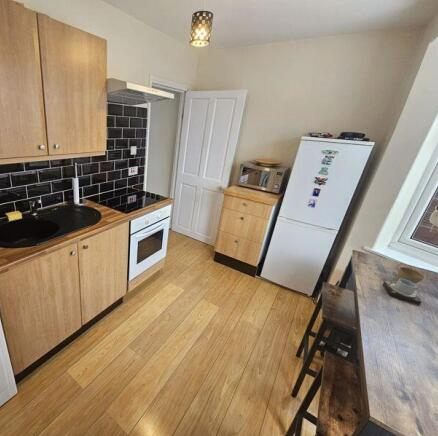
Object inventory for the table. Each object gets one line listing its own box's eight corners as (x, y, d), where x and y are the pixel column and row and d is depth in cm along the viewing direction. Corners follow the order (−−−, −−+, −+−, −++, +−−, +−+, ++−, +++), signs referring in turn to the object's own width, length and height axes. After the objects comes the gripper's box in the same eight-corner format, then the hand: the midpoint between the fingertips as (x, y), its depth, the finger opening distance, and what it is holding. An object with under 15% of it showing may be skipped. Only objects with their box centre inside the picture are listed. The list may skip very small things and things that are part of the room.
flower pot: (387, 275, 134) (394, 265, 131) (407, 278, 132) (414, 268, 129) (401, 286, 125) (408, 276, 122) (422, 290, 123) (430, 279, 120)
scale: (409, 292, 121) (412, 288, 119) (419, 305, 112) (422, 301, 111) (382, 284, 125) (385, 279, 124) (389, 296, 116) (392, 291, 115)
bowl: (409, 288, 119) (414, 281, 117) (414, 296, 113) (420, 289, 111) (391, 283, 121) (396, 276, 120) (396, 291, 116) (401, 284, 114)
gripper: (478, 221, 102) (457, 247, 108) (451, 207, 118) (435, 231, 124) (458, 217, 104) (439, 243, 110) (434, 204, 121) (419, 227, 127)
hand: (437, 236), depth 117 cm, fingers open, 8 cm apart
